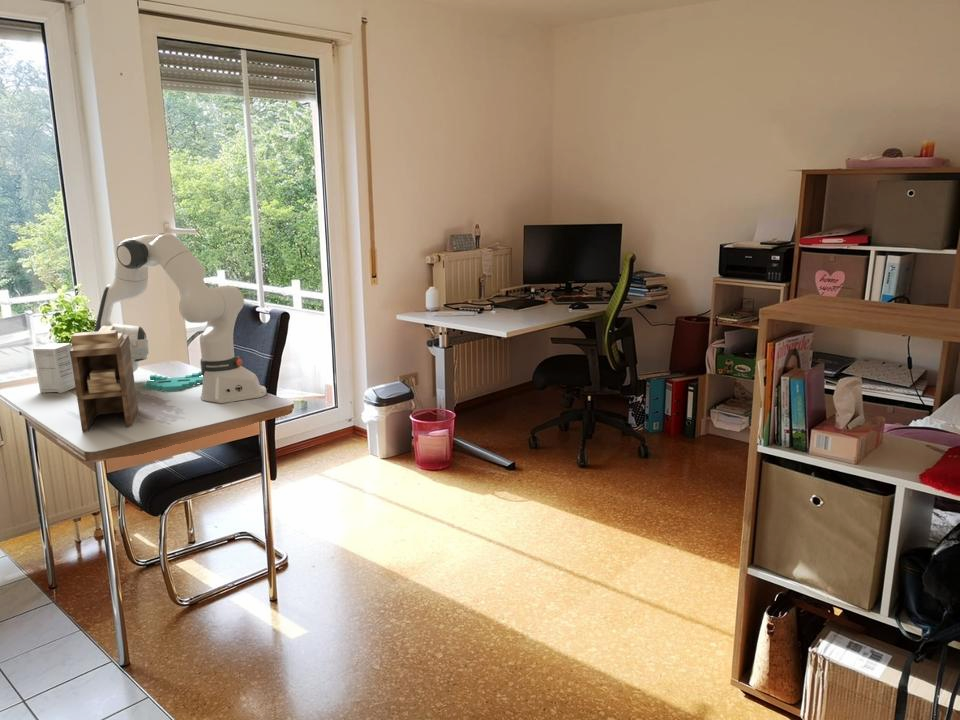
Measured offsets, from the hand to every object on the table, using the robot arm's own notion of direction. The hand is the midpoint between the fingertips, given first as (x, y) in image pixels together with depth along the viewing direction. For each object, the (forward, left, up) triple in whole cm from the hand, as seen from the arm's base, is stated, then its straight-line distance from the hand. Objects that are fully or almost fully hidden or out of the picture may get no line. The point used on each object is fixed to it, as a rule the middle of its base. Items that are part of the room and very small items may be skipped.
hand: (114, 341), depth 261 cm
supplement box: (+24, -21, -21) cm, 38 cm away
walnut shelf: (0, +27, -21) cm, 34 cm away
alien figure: (-17, -13, -21) cm, 30 cm away
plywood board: (0, +23, +5) cm, 24 cm away
